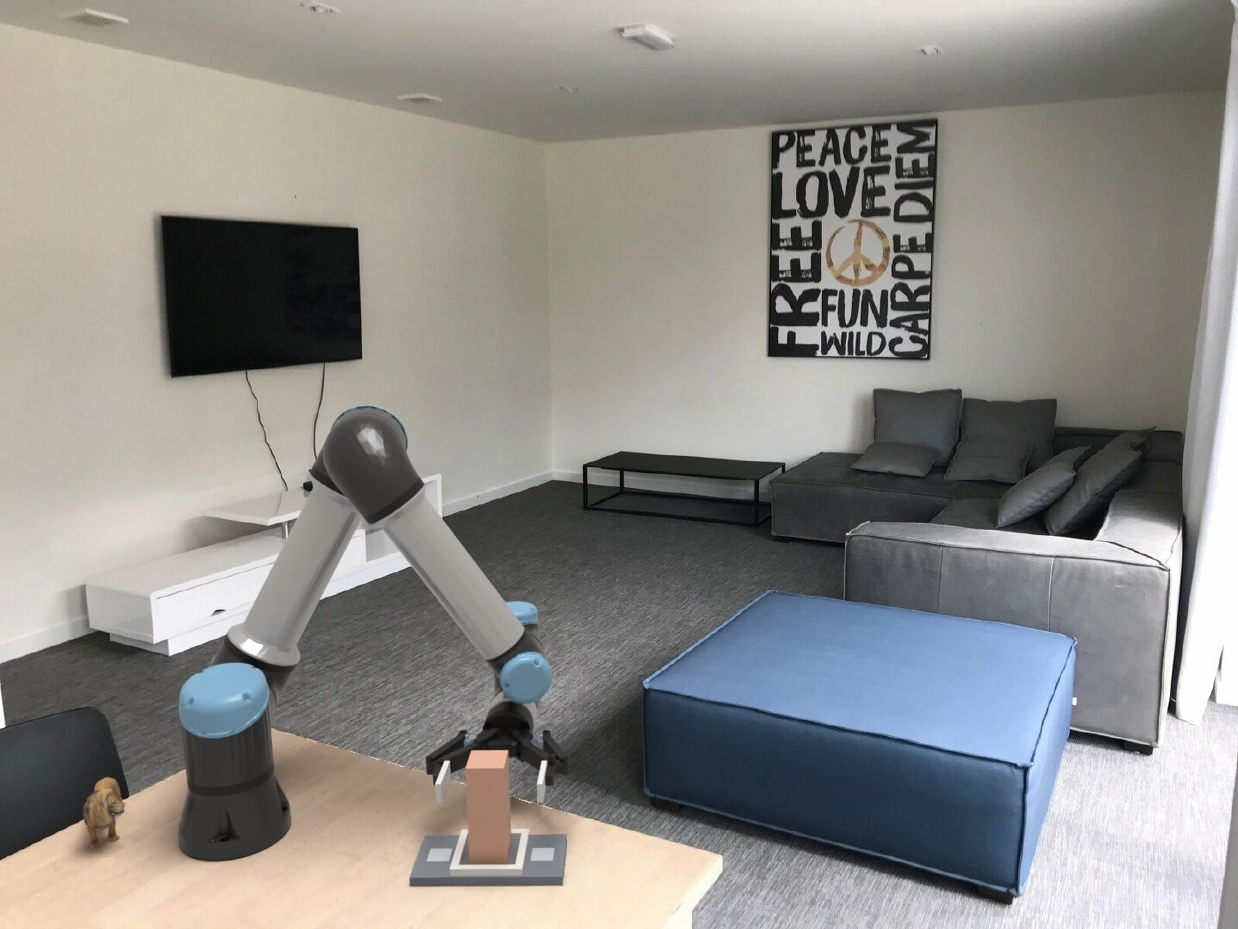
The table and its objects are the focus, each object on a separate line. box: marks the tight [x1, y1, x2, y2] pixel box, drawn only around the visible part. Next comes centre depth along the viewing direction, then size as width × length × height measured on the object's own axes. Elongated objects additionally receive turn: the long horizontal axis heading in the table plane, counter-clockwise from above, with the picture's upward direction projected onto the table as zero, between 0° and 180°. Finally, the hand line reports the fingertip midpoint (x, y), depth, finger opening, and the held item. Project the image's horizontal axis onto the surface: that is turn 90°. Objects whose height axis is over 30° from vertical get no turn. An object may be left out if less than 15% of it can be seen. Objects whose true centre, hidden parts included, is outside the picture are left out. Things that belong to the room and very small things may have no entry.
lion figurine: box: [82, 776, 126, 849], centre depth 142 cm, size 15×5×9 cm, turn 30°
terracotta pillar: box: [464, 750, 512, 865], centre depth 132 cm, size 5×5×14 cm
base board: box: [409, 828, 568, 887], centre depth 134 cm, size 20×10×2 cm, turn 89°
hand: (489, 793), depth 131 cm, fingers open, 13 cm apart
